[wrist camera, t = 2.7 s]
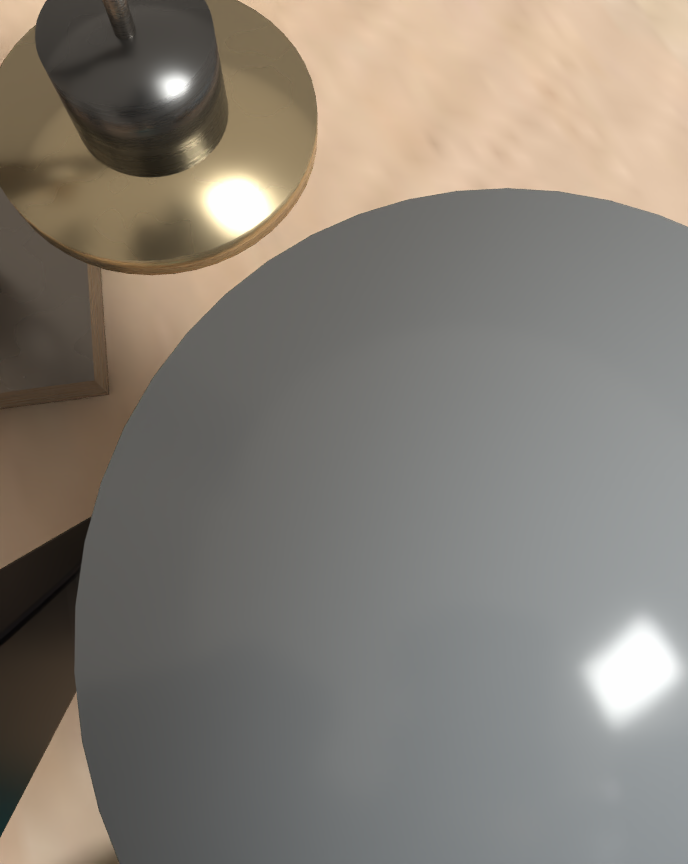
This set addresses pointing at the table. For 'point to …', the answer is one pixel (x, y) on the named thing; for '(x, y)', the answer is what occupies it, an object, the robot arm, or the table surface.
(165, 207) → the balance
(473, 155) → the table surface
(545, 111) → the table surface
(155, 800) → the cup
